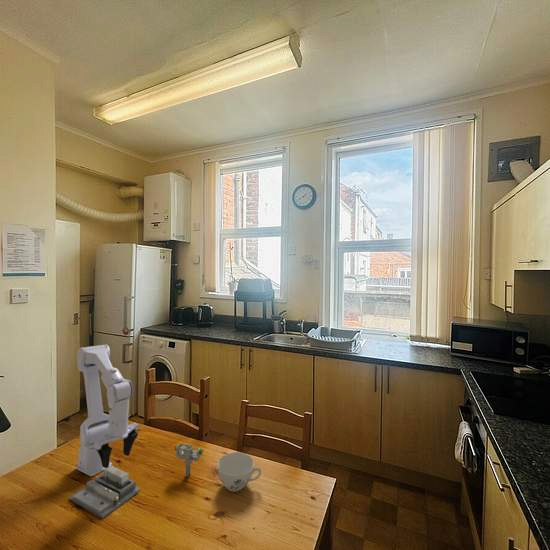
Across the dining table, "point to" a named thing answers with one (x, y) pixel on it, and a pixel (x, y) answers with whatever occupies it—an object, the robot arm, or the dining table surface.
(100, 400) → the robot arm
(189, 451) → the mechanical component
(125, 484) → the brushed steel bar
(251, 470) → the teacup
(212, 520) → the dining table surface
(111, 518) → the dining table surface
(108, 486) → the fixed leaf
